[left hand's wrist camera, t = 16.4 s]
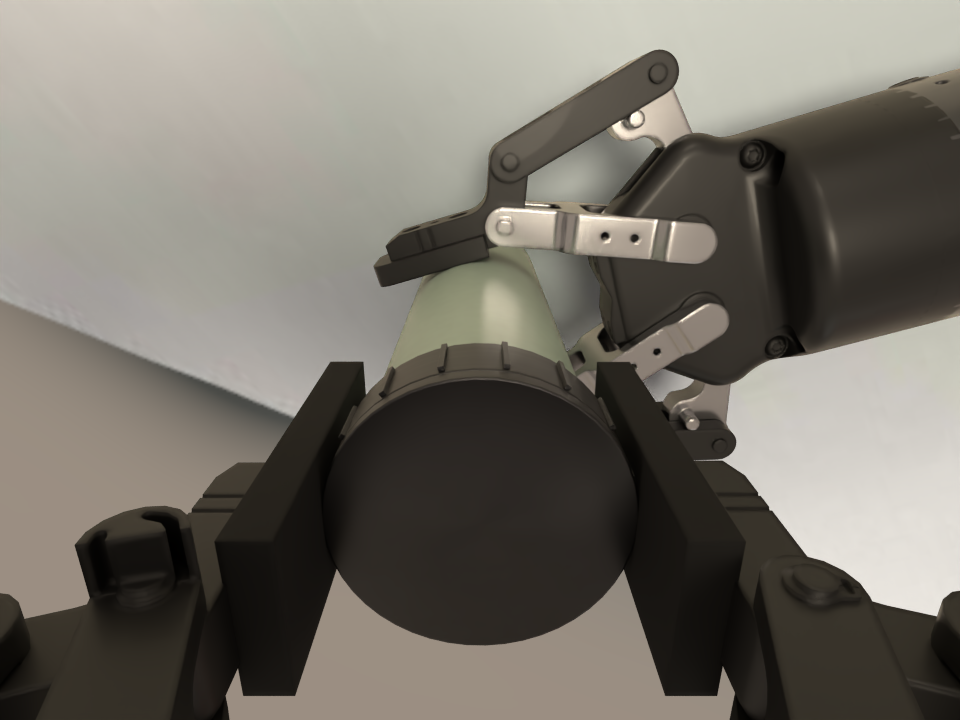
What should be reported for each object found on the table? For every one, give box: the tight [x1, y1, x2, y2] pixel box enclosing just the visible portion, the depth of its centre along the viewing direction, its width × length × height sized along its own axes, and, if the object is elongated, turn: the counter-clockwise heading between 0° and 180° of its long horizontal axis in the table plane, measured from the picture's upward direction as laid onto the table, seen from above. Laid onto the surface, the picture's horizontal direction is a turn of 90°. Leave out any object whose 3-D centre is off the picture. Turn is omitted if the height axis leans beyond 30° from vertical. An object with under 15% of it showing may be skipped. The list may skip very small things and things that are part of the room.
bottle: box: [385, 246, 576, 376], centre depth 19 cm, size 5×5×17 cm
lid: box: [322, 341, 639, 645], centre depth 11 cm, size 6×6×2 cm
